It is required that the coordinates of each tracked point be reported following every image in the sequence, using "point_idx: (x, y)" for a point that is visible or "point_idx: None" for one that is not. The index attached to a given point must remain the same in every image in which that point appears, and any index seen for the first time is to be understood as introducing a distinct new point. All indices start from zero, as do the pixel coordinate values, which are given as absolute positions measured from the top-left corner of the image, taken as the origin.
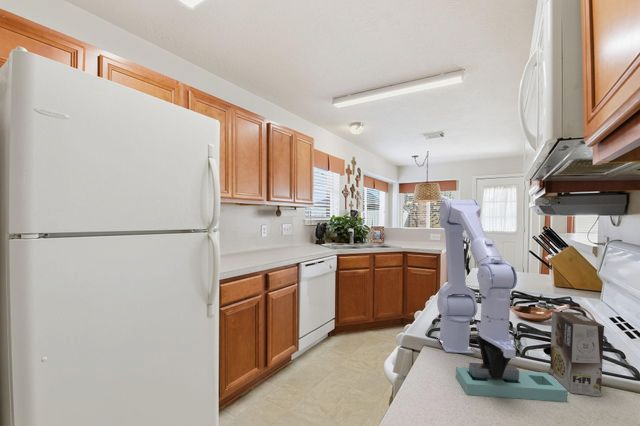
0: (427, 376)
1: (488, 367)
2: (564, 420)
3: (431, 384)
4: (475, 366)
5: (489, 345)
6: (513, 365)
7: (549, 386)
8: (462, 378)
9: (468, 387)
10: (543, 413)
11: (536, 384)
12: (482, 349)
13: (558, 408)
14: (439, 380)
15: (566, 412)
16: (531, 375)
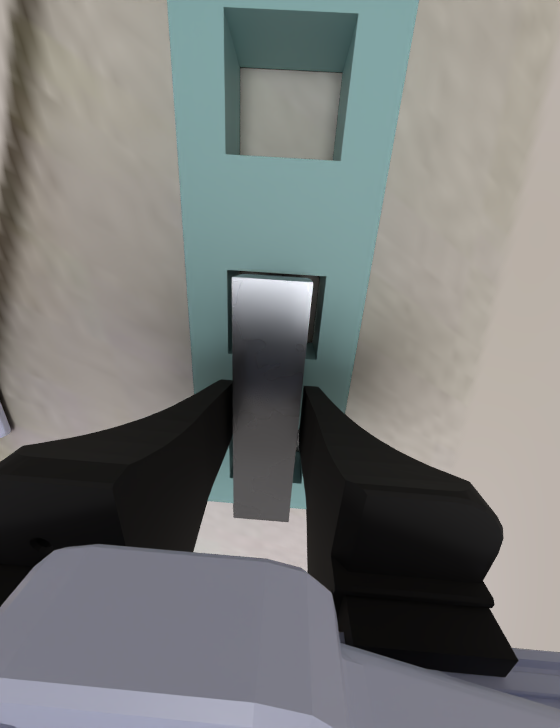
0: (223, 540)
1: (278, 455)
2: (524, 177)
3: (268, 543)
4: (271, 507)
5: (174, 543)
6: (234, 279)
7: (367, 72)
8: None
9: None
10: (459, 253)
11: (338, 170)
12: (194, 541)
13: (441, 133)
14: (242, 518)
15: (478, 107)
16: (224, 122)
